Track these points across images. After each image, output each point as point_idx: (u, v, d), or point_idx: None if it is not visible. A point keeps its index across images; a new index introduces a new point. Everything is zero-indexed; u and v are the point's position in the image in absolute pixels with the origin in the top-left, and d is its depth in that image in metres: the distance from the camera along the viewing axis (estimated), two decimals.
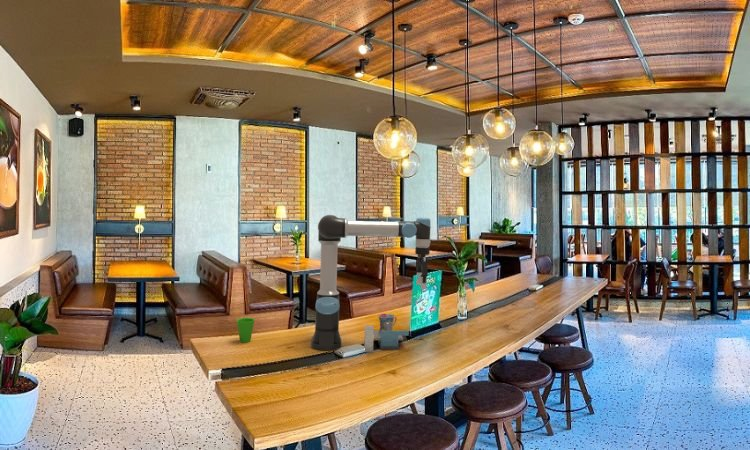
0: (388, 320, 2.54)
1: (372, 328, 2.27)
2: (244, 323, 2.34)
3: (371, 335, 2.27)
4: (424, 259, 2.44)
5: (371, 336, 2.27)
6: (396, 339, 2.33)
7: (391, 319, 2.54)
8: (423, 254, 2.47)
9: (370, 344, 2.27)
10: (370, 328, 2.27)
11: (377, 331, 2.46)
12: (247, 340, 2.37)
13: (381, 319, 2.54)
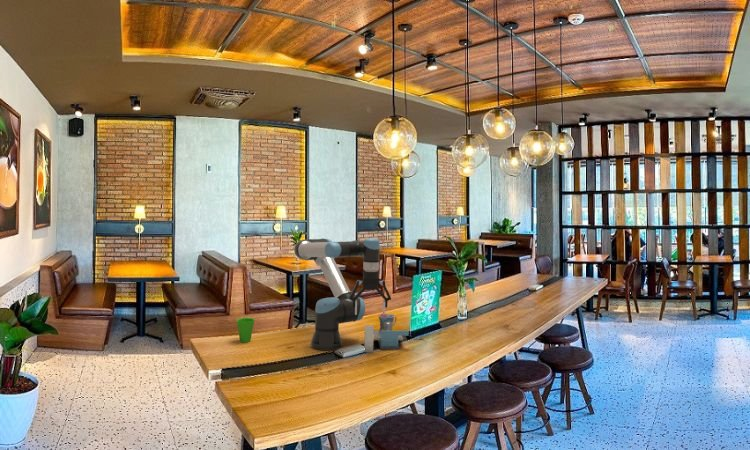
0: (388, 320, 2.54)
1: (372, 328, 2.27)
2: (244, 323, 2.34)
3: (371, 335, 2.27)
4: (356, 282, 2.27)
5: (371, 336, 2.27)
6: (396, 339, 2.33)
7: (391, 319, 2.54)
8: (363, 277, 2.27)
9: (370, 344, 2.27)
10: (370, 328, 2.27)
11: (377, 331, 2.46)
12: (247, 340, 2.37)
13: (381, 319, 2.54)
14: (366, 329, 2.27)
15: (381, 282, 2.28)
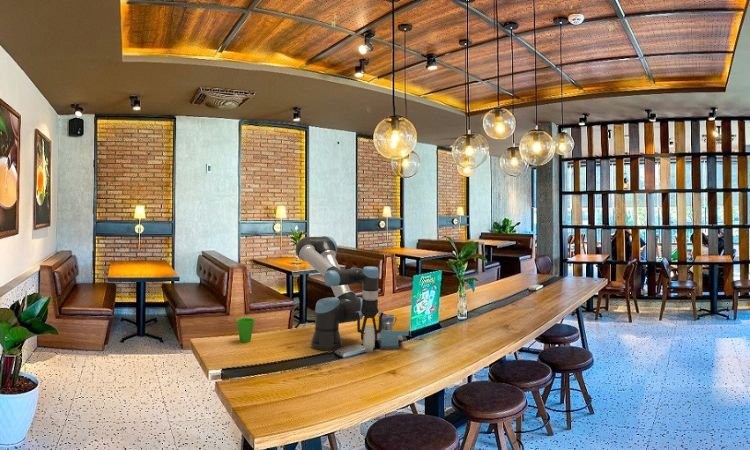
0: (388, 320, 2.54)
1: (372, 328, 2.27)
2: (244, 323, 2.34)
3: (371, 335, 2.27)
4: None
5: (371, 336, 2.27)
6: (396, 339, 2.33)
7: (391, 319, 2.54)
8: (362, 306, 2.28)
9: (370, 344, 2.27)
10: (370, 328, 2.27)
11: None
12: (247, 340, 2.37)
13: None
14: (366, 329, 2.27)
15: (380, 312, 2.28)
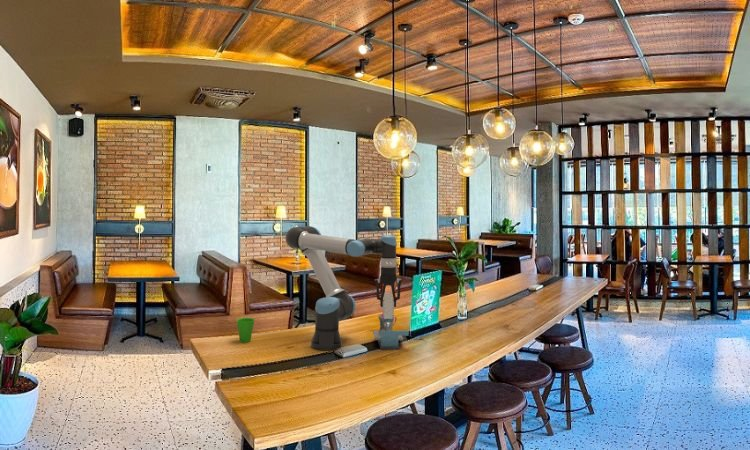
0: (388, 320, 2.54)
1: (391, 295, 2.32)
2: (244, 323, 2.34)
3: (390, 302, 2.32)
4: (375, 281, 2.34)
5: (390, 303, 2.32)
6: (396, 339, 2.33)
7: (391, 319, 2.54)
8: None
9: (390, 311, 2.32)
10: (389, 295, 2.32)
11: (377, 331, 2.46)
12: (247, 340, 2.37)
13: (381, 319, 2.54)
14: (385, 296, 2.32)
15: (398, 280, 2.33)
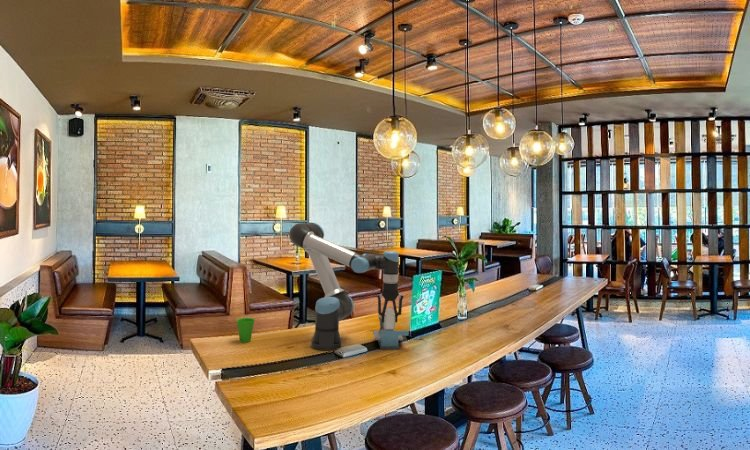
0: None
1: (393, 310, 2.34)
2: (244, 323, 2.34)
3: (392, 317, 2.34)
4: (377, 297, 2.35)
5: (392, 318, 2.34)
6: (396, 339, 2.33)
7: None
8: None
9: (391, 326, 2.34)
10: (391, 310, 2.34)
11: (377, 331, 2.46)
12: (247, 340, 2.37)
13: (381, 319, 2.54)
14: (387, 311, 2.34)
15: (400, 295, 2.36)
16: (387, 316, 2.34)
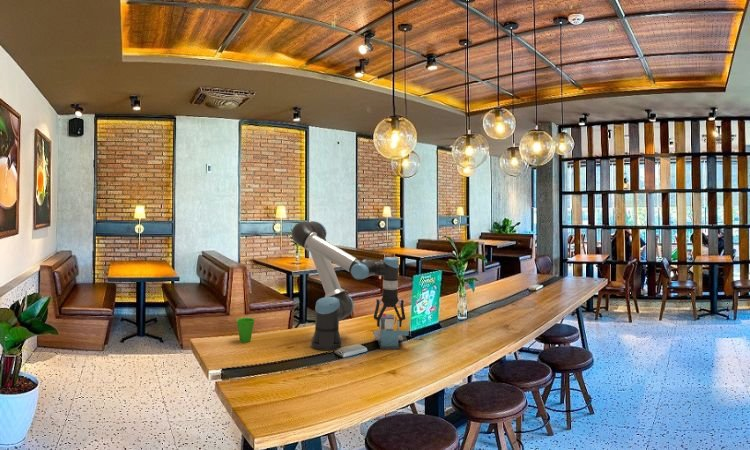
0: None
1: (392, 322, 2.34)
2: (244, 323, 2.34)
3: (391, 328, 2.35)
4: (376, 301, 2.35)
5: (391, 329, 2.35)
6: (396, 339, 2.33)
7: None
8: None
9: None
10: (390, 322, 2.34)
11: (377, 331, 2.46)
12: (247, 340, 2.37)
13: (381, 319, 2.54)
14: (386, 322, 2.34)
15: (400, 301, 2.36)
16: (386, 327, 2.34)
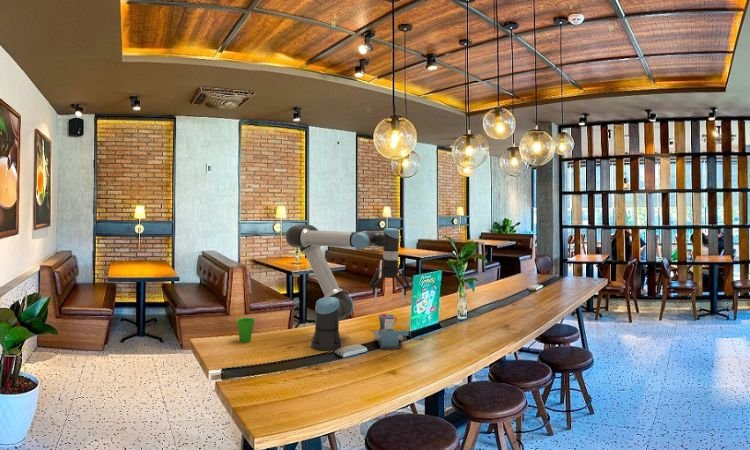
0: None
1: (392, 322, 2.34)
2: (244, 323, 2.34)
3: (391, 328, 2.35)
4: (376, 270, 2.35)
5: (391, 329, 2.35)
6: (396, 339, 2.33)
7: None
8: None
9: None
10: (390, 322, 2.34)
11: (377, 331, 2.46)
12: (247, 340, 2.37)
13: (381, 319, 2.54)
14: (386, 322, 2.34)
15: (400, 270, 2.35)
16: (386, 327, 2.34)
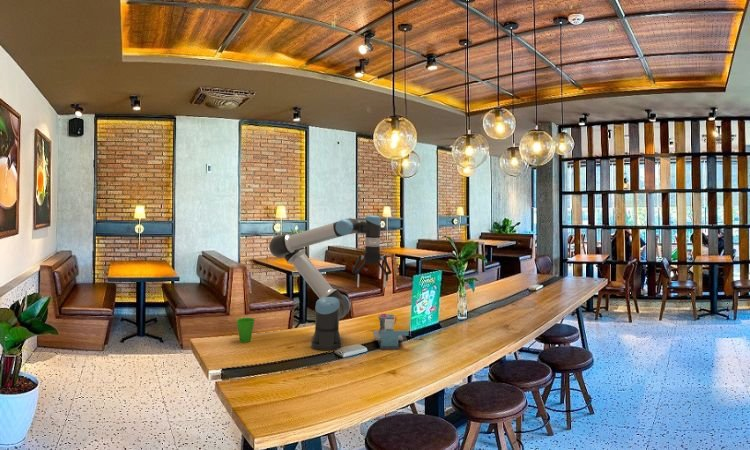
0: None
1: (392, 322, 2.34)
2: (244, 323, 2.34)
3: (391, 328, 2.35)
4: None
5: (391, 329, 2.35)
6: (396, 339, 2.33)
7: None
8: (365, 252, 2.40)
9: None
10: (390, 322, 2.34)
11: (377, 331, 2.46)
12: (247, 340, 2.37)
13: (381, 319, 2.54)
14: (386, 322, 2.34)
15: (382, 257, 2.41)
16: (386, 327, 2.34)
